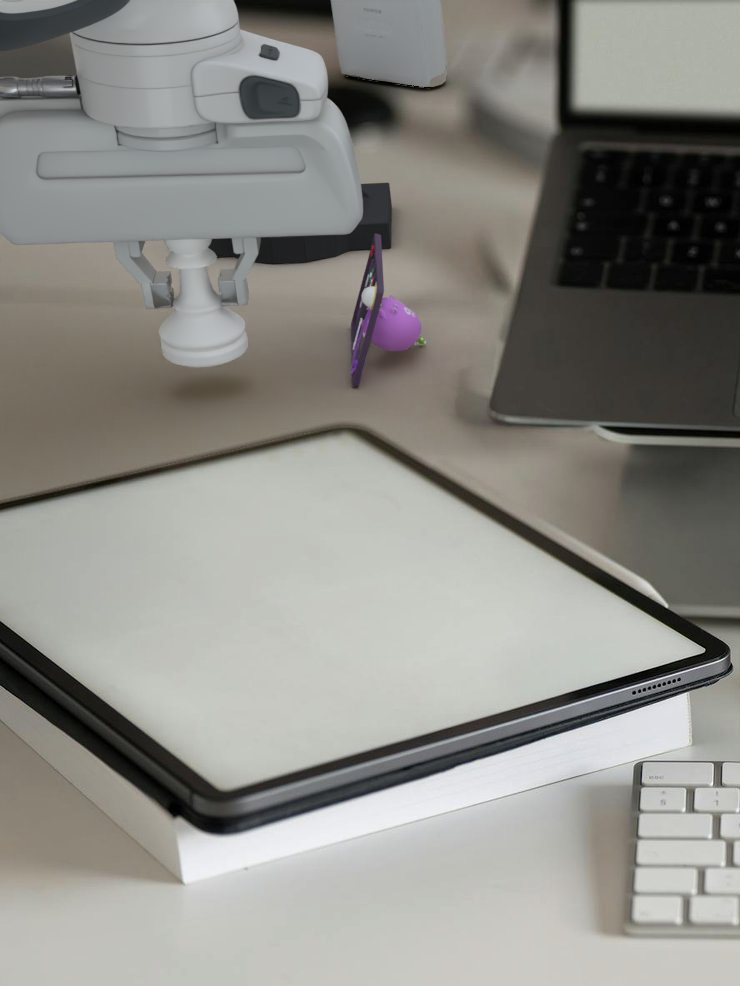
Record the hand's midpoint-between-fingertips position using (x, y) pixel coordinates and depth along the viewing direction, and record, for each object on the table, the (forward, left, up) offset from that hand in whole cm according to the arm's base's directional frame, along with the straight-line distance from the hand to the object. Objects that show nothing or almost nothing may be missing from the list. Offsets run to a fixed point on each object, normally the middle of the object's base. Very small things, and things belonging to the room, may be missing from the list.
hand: (198, 303), depth 102 cm
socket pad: (+4, +24, -6) cm, 25 cm away
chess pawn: (0, 0, -3) cm, 3 cm away
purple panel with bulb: (+11, +3, -6) cm, 12 cm away
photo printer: (+11, +59, -6) cm, 60 cm away
